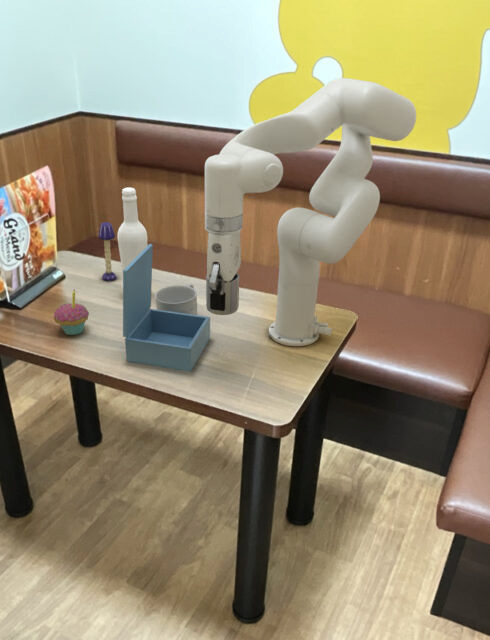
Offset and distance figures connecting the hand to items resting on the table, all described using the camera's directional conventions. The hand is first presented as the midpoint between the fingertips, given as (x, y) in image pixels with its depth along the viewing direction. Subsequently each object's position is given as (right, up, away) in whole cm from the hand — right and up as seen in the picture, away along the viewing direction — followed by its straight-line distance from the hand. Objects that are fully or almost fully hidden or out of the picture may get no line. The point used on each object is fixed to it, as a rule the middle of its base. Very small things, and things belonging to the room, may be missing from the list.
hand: (222, 301), depth 131 cm
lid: (-19, +3, +8) cm, 21 cm away
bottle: (-23, +7, +40) cm, 47 cm away
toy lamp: (-32, +13, +50) cm, 61 cm away
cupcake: (-37, -5, +24) cm, 44 cm away
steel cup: (0, -1, +1) cm, 2 cm away
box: (-12, -10, +15) cm, 22 cm away
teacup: (-10, -1, +29) cm, 31 cm away
